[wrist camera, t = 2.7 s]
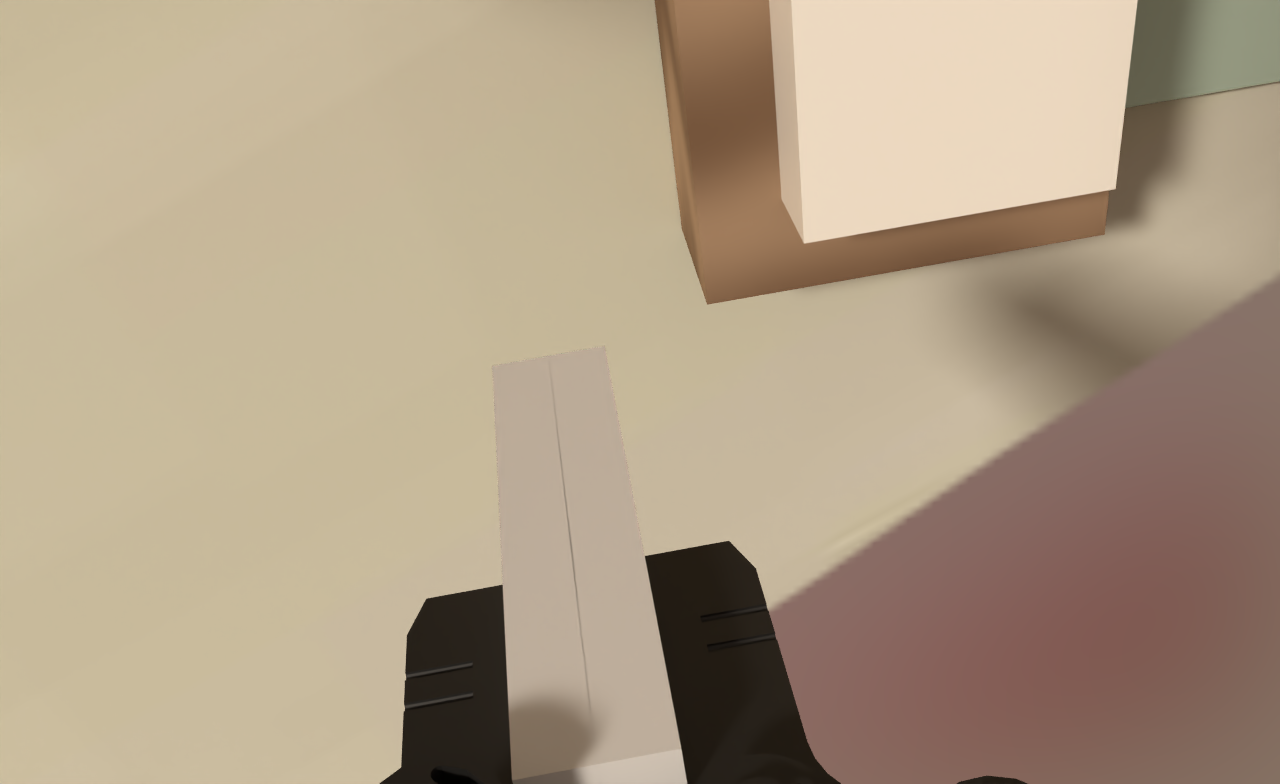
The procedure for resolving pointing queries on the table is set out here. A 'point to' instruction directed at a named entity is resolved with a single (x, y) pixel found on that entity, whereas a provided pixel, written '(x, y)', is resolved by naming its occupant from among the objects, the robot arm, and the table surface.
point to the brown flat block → (750, 173)
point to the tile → (944, 106)
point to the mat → (1202, 48)
